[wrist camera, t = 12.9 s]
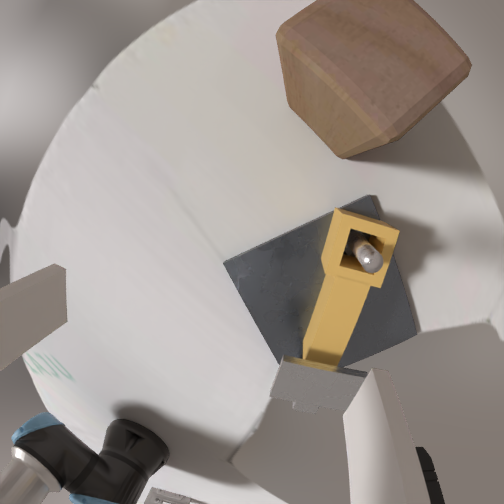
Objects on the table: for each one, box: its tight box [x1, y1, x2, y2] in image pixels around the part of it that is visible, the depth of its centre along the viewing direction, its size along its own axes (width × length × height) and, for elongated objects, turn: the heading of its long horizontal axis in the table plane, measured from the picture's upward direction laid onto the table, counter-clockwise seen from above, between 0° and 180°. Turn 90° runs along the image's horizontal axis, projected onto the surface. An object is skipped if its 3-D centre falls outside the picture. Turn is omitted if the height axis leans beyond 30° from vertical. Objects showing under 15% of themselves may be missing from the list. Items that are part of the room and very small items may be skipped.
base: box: [223, 195, 417, 367], centre depth 33 cm, size 20×21×11 cm
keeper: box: [270, 355, 368, 414], centre depth 35 cm, size 8×10×10 cm
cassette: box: [144, 487, 191, 504], centre depth 55 cm, size 12×2×8 cm, turn 89°
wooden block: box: [276, 0, 472, 159], centre depth 22 cm, size 10×10×20 cm
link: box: [303, 207, 400, 366], centre depth 33 cm, size 18×6×6 cm, turn 167°
